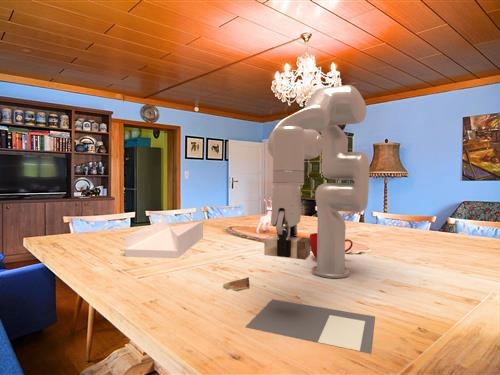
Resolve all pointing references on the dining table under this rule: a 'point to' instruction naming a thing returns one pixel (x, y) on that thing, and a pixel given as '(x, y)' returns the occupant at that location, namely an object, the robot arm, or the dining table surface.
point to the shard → (237, 284)
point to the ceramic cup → (314, 244)
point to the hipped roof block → (163, 240)
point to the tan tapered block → (298, 247)
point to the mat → (316, 325)
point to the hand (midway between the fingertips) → (287, 253)
